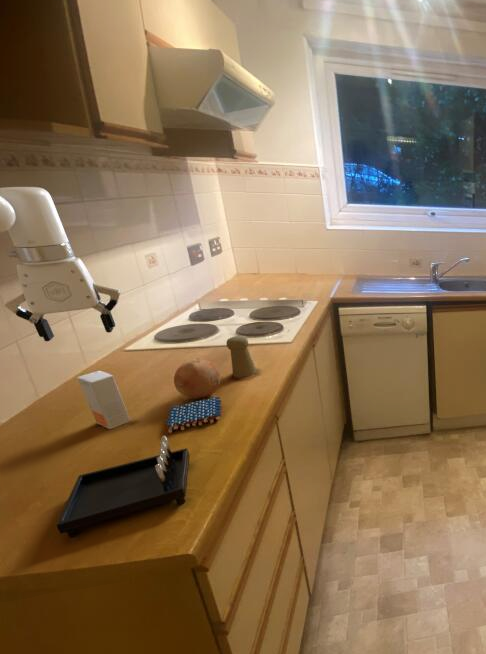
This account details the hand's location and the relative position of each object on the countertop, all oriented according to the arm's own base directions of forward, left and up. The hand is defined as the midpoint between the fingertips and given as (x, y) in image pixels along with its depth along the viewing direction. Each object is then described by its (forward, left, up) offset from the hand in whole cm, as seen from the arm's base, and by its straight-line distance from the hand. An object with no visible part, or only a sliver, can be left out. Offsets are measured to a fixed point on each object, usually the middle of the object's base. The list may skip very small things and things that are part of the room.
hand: (80, 334), depth 92 cm
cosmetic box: (0, 0, -22) cm, 22 cm away
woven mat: (+16, -7, -22) cm, 28 cm away
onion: (+17, +5, -22) cm, 28 cm away
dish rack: (+8, -34, -22) cm, 41 cm away
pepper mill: (+27, +15, -22) cm, 38 cm away
